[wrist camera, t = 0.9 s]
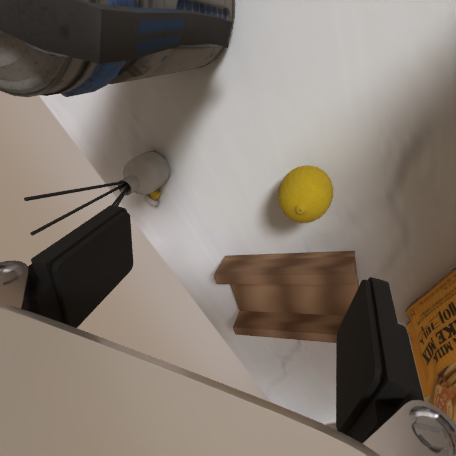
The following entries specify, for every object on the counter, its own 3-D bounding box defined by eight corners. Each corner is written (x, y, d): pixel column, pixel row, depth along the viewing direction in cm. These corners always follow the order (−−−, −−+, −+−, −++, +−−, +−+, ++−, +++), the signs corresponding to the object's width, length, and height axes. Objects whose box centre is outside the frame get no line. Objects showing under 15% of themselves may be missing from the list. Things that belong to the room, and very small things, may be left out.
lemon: (344, 185, 34) (342, 219, 27) (302, 208, 37) (292, 244, 30) (317, 146, 33) (308, 172, 26) (276, 173, 36) (260, 202, 29)
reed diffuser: (138, 130, 39) (-9, 193, 23) (186, 139, 37) (63, 213, 21) (145, 199, 45) (30, 287, 29) (187, 209, 43) (89, 310, 27)
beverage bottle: (241, 91, 32) (63, 176, 12) (135, 44, 33) (-183, 52, 14) (279, -26, 26) (51, -232, 6) (149, -78, 27) (-391, -390, 7)
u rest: (354, 251, 37) (354, 274, 34) (361, 317, 42) (362, 344, 39) (225, 255, 45) (213, 275, 41) (244, 312, 50) (235, 334, 46)
